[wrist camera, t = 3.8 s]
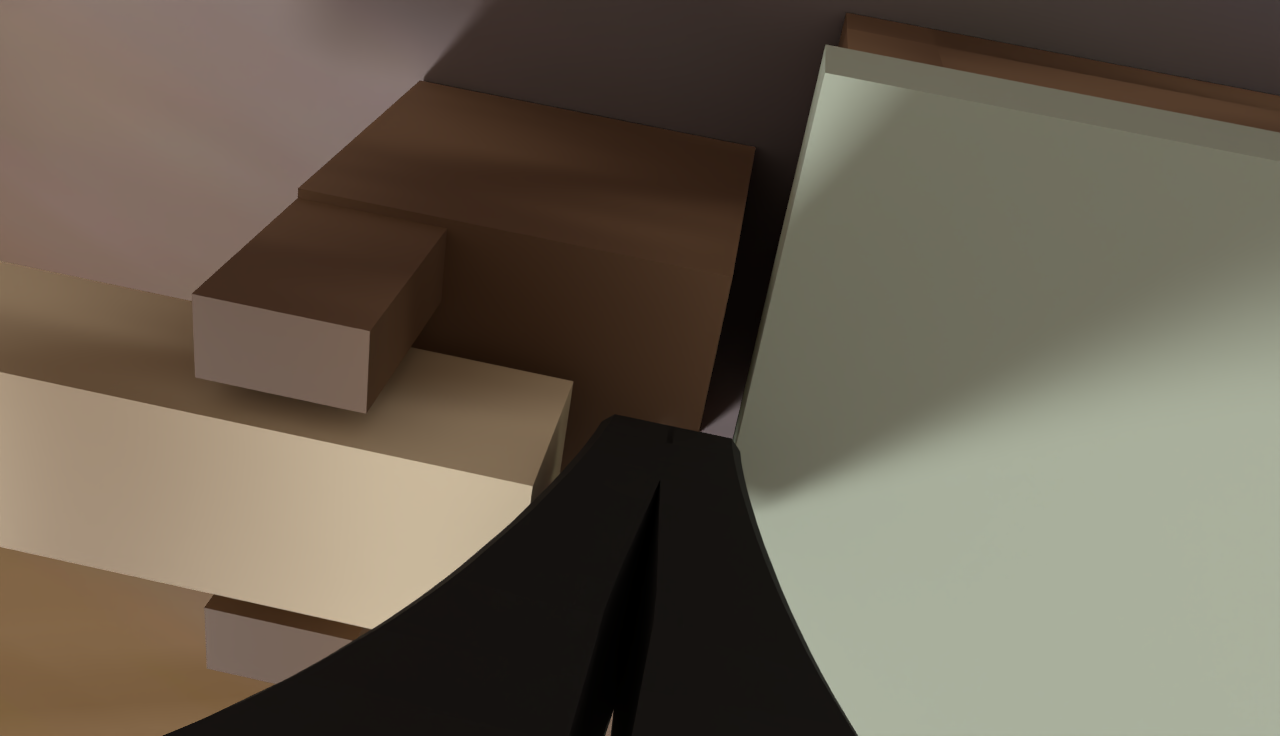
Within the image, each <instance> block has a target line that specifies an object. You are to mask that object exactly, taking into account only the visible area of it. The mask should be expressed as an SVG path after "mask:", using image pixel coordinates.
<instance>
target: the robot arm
mask: <svg viewBox="0 0 1280 736" xmlns="http://www.w3.org/2000/svg"><path fill="white" fill-rule="evenodd" d="M613 710H614V712H613ZM612 713H613V721H612V730H611V736H858V734H857V733H856V731H855V730H854V728H853V726H852V725H851V723H850V721H849V720H848V718H847V716H846V715H845V713H844V711H843V710H842V708H841V706H840V705H839V703H838V701H837V700H836V698H835V696H834V694H833V693H832V691H831V689H830V687H829V685H828V684H827V682H826V680H825V678H824V676H823V675H822V673H821V671H820V669H819V667H818V665H817V663H816V661H815V659H814V657H813V655H812V654H811V652H810V650H809V647H808V645H807V643H806V641H805V639H804V637H803V635H802V633H801V631H800V629H799V627H798V625H797V622H796V620H795V618H794V616H793V614H792V612H791V609H790V607H789V605H788V603H787V600H786V598H785V596H784V593H783V591H782V589H781V586H780V584H779V581H778V578H777V576H776V573H775V571H774V568H773V566H772V563H771V560H770V558H769V555H768V553H767V550H766V548H765V545H764V542H763V539H762V536H761V533H760V530H759V528H758V525H757V521H756V518H755V515H754V511H753V508H752V505H751V501H750V498H749V494H748V490H747V487H746V482H745V478H744V473H743V468H742V463H741V454H740V450H739V449H738V447H737V446H736V444H735V443H734V441H733V440H732V439H731V438H726V437H721V436H717V435H712V434H707V433H702V432H698V431H693V430H688V429H683V428H679V427H674V426H669V425H664V424H660V423H655V422H650V421H645V420H641V419H636V418H631V417H626V416H622V415H617V414H614V415H612V416H610V417H609V418H607V419H605V420H603V421H602V422H601V423H600V425H599V426H598V428H597V429H596V431H595V432H594V434H593V435H592V436H591V438H590V439H589V440H588V441H587V443H586V444H585V445H584V447H583V448H582V449H581V450H580V451H579V453H578V454H577V455H576V456H575V457H574V459H573V460H572V461H571V462H570V463H569V464H568V465H567V466H566V467H565V469H564V470H563V471H562V472H561V473H560V474H559V475H558V476H557V477H556V478H555V480H554V481H553V482H552V483H551V484H550V485H549V486H548V487H547V488H546V489H545V490H544V491H543V492H542V493H541V494H540V495H539V496H538V497H537V498H536V499H535V500H534V501H533V502H532V503H531V504H530V505H529V506H528V507H527V508H526V509H525V510H524V511H523V512H521V513H520V514H519V515H518V516H517V517H516V518H515V519H514V520H513V521H512V522H511V523H510V524H509V525H508V526H507V527H506V528H504V529H503V530H502V531H501V532H500V533H499V534H497V535H496V536H495V537H494V538H493V539H492V540H490V541H489V542H488V543H487V544H486V545H485V546H483V547H482V548H481V549H480V550H479V551H477V552H476V553H475V554H474V555H473V556H472V557H470V558H469V559H468V560H467V561H466V562H465V563H463V564H462V565H461V566H460V567H459V568H457V569H456V570H455V571H454V572H452V573H451V574H450V575H448V576H447V577H446V578H444V579H443V580H442V581H441V582H439V583H438V584H437V585H435V586H434V587H433V588H431V589H430V590H429V591H427V592H426V593H424V594H423V595H422V596H420V597H419V598H418V599H416V600H415V601H413V602H412V603H410V604H409V605H407V606H406V607H405V608H403V609H402V610H400V611H399V612H397V613H396V614H394V615H393V616H391V617H390V618H389V619H387V620H386V621H384V622H383V623H381V624H379V625H378V626H376V627H375V628H373V629H371V630H370V631H368V632H366V633H365V634H363V635H361V636H360V637H358V638H357V639H355V640H353V641H352V642H350V643H348V644H347V645H345V646H343V647H342V648H340V649H338V650H337V651H335V652H334V653H332V654H330V655H329V656H327V657H325V658H324V659H322V660H320V661H318V662H316V663H315V664H313V665H311V666H309V667H307V668H306V669H304V670H302V671H300V672H298V673H296V674H295V675H293V676H291V677H289V678H287V679H285V680H283V681H281V682H279V683H277V684H275V685H273V686H271V687H269V688H267V689H265V690H263V691H260V692H258V693H256V694H254V695H252V696H250V697H248V698H246V699H244V700H242V701H240V702H238V703H235V704H233V705H231V706H229V707H227V708H225V709H223V710H221V711H219V712H217V713H215V714H213V715H210V716H208V717H206V718H204V719H202V720H199V721H197V722H195V723H192V724H190V725H188V726H185V727H183V728H180V729H178V730H175V731H173V732H171V733H168V734H166V735H163V736H605V734H606V731H607V728H608V725H609V722H610V719H611V716H612Z"/></svg>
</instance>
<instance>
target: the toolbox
mask: <svg viewBox="0 0 1280 736" xmlns="http://www.w3.org/2000/svg"><path fill="white" fill-rule="evenodd" d="M838 47H841V48H847V49H852V50H857V51H862V52H867V53H872V54H877V55H883V56H888V57H893V58H898V59H903V60H908V61H913V62H919V63H924V64H929V65H934V66H939V67H944V68H950V69H955V70H960V71H965V72H970V73H975V74H980V75H986V76H991V77H996V78H1001V79H1006V80H1011V81H1017V82H1022V83H1027V84H1032V85H1037V86H1042V87H1047V88H1053V89H1058V90H1063V91H1068V92H1073V93H1078V94H1083V95H1089V96H1094V97H1099V98H1104V99H1109V100H1114V101H1120V102H1125V103H1130V104H1135V105H1140V106H1145V107H1150V108H1156V109H1161V110H1166V111H1171V112H1176V113H1181V114H1187V115H1192V116H1197V117H1202V118H1207V119H1212V120H1217V121H1223V122H1228V123H1233V124H1238V125H1243V126H1248V127H1253V128H1259V129H1264V130H1269V131H1274V132H1279V133H1280V96H1277V95H1272V94H1267V93H1262V92H1256V91H1251V90H1246V89H1241V88H1236V87H1230V86H1225V85H1220V84H1215V83H1210V82H1204V81H1199V80H1194V79H1189V78H1184V77H1179V76H1173V75H1168V74H1163V73H1158V72H1153V71H1147V70H1142V69H1137V68H1132V67H1127V66H1121V65H1116V64H1111V63H1106V62H1101V61H1095V60H1090V59H1085V58H1080V57H1075V56H1070V55H1064V54H1059V53H1054V52H1049V51H1044V50H1038V49H1033V48H1028V47H1023V46H1018V45H1012V44H1007V43H1002V42H997V41H992V40H986V39H981V38H976V37H971V36H966V35H961V34H955V33H950V32H945V31H940V30H935V29H929V28H924V27H919V26H914V25H909V24H903V23H898V22H893V21H888V20H883V19H877V18H872V17H867V16H862V15H857V14H852V13H846V16H845V20H844V24H843V28H842V32H841V36H840V41H839V45H838ZM755 148H756V147H752V146H747V145H742V144H737V143H732V142H727V141H722V140H716V139H711V138H706V137H701V136H696V135H691V134H686V133H681V132H676V131H671V130H666V129H661V128H656V127H651V126H646V125H641V124H636V123H631V122H626V121H621V120H616V119H611V118H606V117H601V116H596V115H591V114H586V113H581V112H576V111H571V110H566V109H561V108H556V107H551V106H545V105H540V104H535V103H530V102H525V101H520V100H515V99H510V98H505V97H500V96H495V95H490V94H485V93H480V92H475V91H470V90H465V89H460V88H455V87H450V86H445V85H440V84H435V83H430V82H425V81H419V82H418V83H417V84H416V85H415V86H413V87H412V88H411V89H410V90H409V91H408V92H407V93H405V94H404V95H403V96H402V97H401V98H400V99H399V100H398V101H396V102H395V103H394V104H393V105H392V106H391V107H390V108H389V109H387V110H386V111H385V112H384V113H383V114H382V115H381V116H379V117H378V118H377V119H376V120H375V121H374V122H373V123H372V124H370V125H369V126H368V127H367V128H366V129H365V130H364V131H363V132H361V133H360V134H359V135H358V136H357V137H356V138H355V139H353V140H352V141H351V142H350V143H349V144H348V145H347V146H346V147H344V148H343V149H342V150H341V151H340V152H339V153H338V154H337V155H335V156H334V157H333V158H332V159H331V160H330V161H329V162H327V163H326V164H325V165H324V166H323V167H322V168H321V169H320V170H318V171H317V172H316V173H315V174H314V175H313V176H312V177H310V178H309V179H308V180H307V181H306V182H305V183H304V184H303V185H301V186H300V187H299V188H298V198H297V199H296V200H295V201H294V202H293V203H292V204H291V205H290V206H289V207H287V208H286V209H285V210H284V211H283V212H282V213H281V214H280V215H279V216H277V217H276V218H275V219H274V220H273V221H272V222H271V223H270V224H269V225H268V226H266V227H265V228H264V229H263V230H262V231H261V232H260V233H259V234H258V235H256V236H255V237H254V238H253V239H252V240H251V241H250V242H249V243H248V244H246V245H245V246H244V247H243V248H242V249H241V250H240V251H239V252H238V253H236V254H235V255H234V256H233V257H232V258H231V259H230V260H229V261H228V262H227V263H225V264H224V265H223V266H222V267H221V268H220V269H219V270H218V271H217V272H215V273H214V274H213V275H212V276H211V277H210V278H209V279H208V280H207V281H205V282H204V283H203V284H202V285H201V286H200V287H199V288H198V289H197V290H195V291H194V292H193V293H192V314H193V338H194V363H195V377H196V378H200V379H205V380H210V381H215V382H219V383H224V384H229V385H233V386H238V387H243V388H247V389H252V390H257V391H261V392H266V393H271V394H276V395H280V396H285V397H290V398H294V399H299V400H304V401H308V402H313V403H318V404H323V405H327V406H332V407H337V408H341V409H346V410H351V411H355V412H360V413H365V414H366V413H367V412H368V410H369V409H370V407H371V406H372V404H373V403H374V401H375V400H376V398H377V397H378V395H379V394H380V392H381V391H382V389H383V388H384V386H385V385H386V383H387V382H388V380H389V379H390V377H391V376H392V374H393V373H394V371H395V370H396V368H397V367H398V365H399V364H400V362H401V361H402V359H403V358H404V356H405V355H406V353H407V352H408V350H409V349H410V347H412V348H417V349H422V350H426V351H431V352H436V353H441V354H445V355H450V356H455V357H460V358H465V359H469V360H474V361H479V362H484V363H488V364H493V365H498V366H503V367H507V368H512V369H517V370H522V371H526V372H531V373H536V374H541V375H546V376H550V377H555V378H560V379H565V380H569V381H573V388H572V395H571V402H570V408H569V415H568V422H567V428H566V435H565V442H564V449H563V455H562V462H561V469H560V473H561V472H562V471H563V470H564V469H565V467H566V466H567V465H568V464H569V463H570V462H571V461H572V460H573V459H574V457H575V456H576V455H577V454H578V453H579V451H580V450H581V449H582V448H583V447H584V445H585V444H586V443H587V441H588V440H589V439H590V438H591V436H592V435H593V434H594V432H595V431H596V429H597V428H598V426H599V425H600V423H601V422H602V421H603V420H605V419H607V418H609V417H610V416H612V415H614V414H617V415H622V416H626V417H631V418H636V419H641V420H645V421H650V422H655V423H660V424H664V425H669V426H674V427H679V428H683V429H688V430H693V431H698V432H699V430H700V425H701V420H702V416H703V411H704V406H705V402H706V397H707V393H708V388H709V383H710V379H711V374H712V370H713V365H714V360H715V356H716V351H717V347H718V342H719V337H720V333H721V328H722V324H723V319H724V314H725V310H726V305H727V301H728V296H729V291H730V287H731V282H732V277H733V272H734V266H735V261H736V255H737V249H738V244H739V238H740V233H741V227H742V221H743V216H744V210H745V204H746V199H747V193H748V187H749V182H750V176H751V171H752V165H753V159H754V154H755ZM370 630H371V629H369V628H364V627H360V626H355V625H351V624H346V623H342V622H337V621H333V620H328V619H324V618H319V617H315V616H310V615H306V614H301V613H297V612H292V611H288V610H283V609H279V608H274V607H270V606H265V605H261V604H256V603H252V602H247V601H243V600H238V599H234V598H229V597H225V596H220V595H216V594H214V595H213V596H212V598H211V599H210V601H209V602H208V603H207V605H206V606H205V632H206V657H207V668H208V669H212V670H217V671H221V672H225V673H230V674H234V675H239V676H243V677H248V678H252V679H257V680H261V681H265V682H270V683H274V684H277V683H279V682H281V681H283V680H285V679H287V678H289V677H291V676H293V675H295V674H296V673H298V672H300V671H302V670H304V669H306V668H307V667H309V666H311V665H313V664H315V663H316V662H318V661H320V660H322V659H324V658H325V657H327V656H329V655H330V654H332V653H334V652H335V651H337V650H338V649H340V648H342V647H343V646H345V645H347V644H348V643H350V642H352V641H353V640H355V639H357V638H358V637H360V636H361V635H363V634H365V633H366V632H368V631H370Z"/></svg>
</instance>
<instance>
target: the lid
mask: <svg viewBox="0 0 1280 736" xmlns="http://www.w3.org/2000/svg"><path fill="white" fill-rule="evenodd" d="M733 441H734V443H735V444H736V446H737V447H738V449H739V450H740V454H741V463H742V468H743V473H744V478H745V482H746V487H747V490H748V494H749V498H750V501H751V505H752V508H753V511H754V515H755V518H756V521H757V525H758V528H759V530H760V533H761V536H762V539H763V542H764V545H765V548H766V550H767V553H768V555H769V558H770V560H771V563H772V566H773V568H774V571H775V573H776V576H777V578H778V581H779V584H780V586H781V589H782V591H783V593H784V596H785V598H786V600H787V603H788V605H789V607H790V609H791V612H792V614H793V616H794V618H795V620H796V622H797V625H798V627H799V629H800V631H801V633H802V635H803V637H804V639H805V641H806V643H807V645H808V647H809V650H810V652H811V654H812V655H813V657H814V659H815V661H816V663H817V665H818V667H819V669H820V671H821V673H822V675H823V676H824V678H825V680H826V682H827V684H828V685H829V687H830V689H831V691H832V693H833V694H834V696H835V698H836V700H837V701H838V703H839V705H840V706H841V708H842V710H843V711H844V713H845V715H846V716H847V718H848V720H849V721H850V723H851V725H852V726H853V728H854V730H855V731H856V733H857V734H858V736H1280V133H1279V132H1274V131H1269V130H1264V129H1259V128H1253V127H1248V126H1243V125H1238V124H1233V123H1228V122H1223V121H1217V120H1212V119H1207V118H1202V117H1197V116H1192V115H1187V114H1181V113H1176V112H1171V111H1166V110H1161V109H1156V108H1150V107H1145V106H1140V105H1135V104H1130V103H1125V102H1120V101H1114V100H1109V99H1104V98H1099V97H1094V96H1089V95H1083V94H1078V93H1073V92H1068V91H1063V90H1058V89H1053V88H1047V87H1042V86H1037V85H1032V84H1027V83H1022V82H1017V81H1011V80H1006V79H1001V78H996V77H991V76H986V75H980V74H975V73H970V72H965V71H960V70H955V69H950V68H944V67H939V66H934V65H929V64H924V63H919V62H913V61H908V60H903V59H898V58H893V57H888V56H883V55H877V54H872V53H867V52H862V51H857V50H852V49H847V48H841V47H836V46H831V45H825V49H824V53H823V58H822V62H821V66H820V70H819V75H818V79H817V83H816V87H815V92H814V96H813V100H812V104H811V109H810V113H809V117H808V121H807V126H806V130H805V134H804V138H803V143H802V147H801V151H800V155H799V160H798V164H797V168H796V172H795V177H794V181H793V185H792V189H791V194H790V198H789V202H788V206H787V211H786V215H785V219H784V223H783V228H782V232H781V236H780V240H779V245H778V249H777V253H776V257H775V262H774V266H773V270H772V274H771V279H770V283H769V287H768V291H767V296H766V300H765V304H764V308H763V313H762V317H761V321H760V325H759V330H758V334H757V338H756V342H755V347H754V351H753V355H752V359H751V364H750V368H749V372H748V376H747V381H746V385H745V389H744V393H743V398H742V402H741V406H740V410H739V415H738V419H737V423H736V427H735V432H734V436H733Z"/></svg>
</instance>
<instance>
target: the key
mask: <svg viewBox="0 0 1280 736" xmlns="http://www.w3.org/2000/svg"><path fill="white" fill-rule="evenodd" d="M572 388H573V381H569V380H565V379H560V378H555V377H550V376H546V375H541V374H536V373H531V372H526V371H522V370H517V369H512V368H507V367H503V366H498V365H493V364H488V363H484V362H479V361H474V360H469V359H465V358H460V357H455V356H450V355H445V354H441V353H436V352H431V351H426V350H422V349H417V348H412V347H410V349H409V350H408V352H407V353H406V355H405V356H404V358H403V359H402V361H401V362H400V364H399V365H398V367H397V368H396V370H395V371H394V373H393V374H392V376H391V377H390V379H389V380H388V382H387V383H386V385H385V386H384V388H383V389H382V391H381V392H380V394H379V395H378V397H377V398H376V400H375V401H374V403H373V404H372V406H371V407H370V409H369V410H368V412H367V413H366V414H365V413H360V412H355V411H351V410H346V409H341V408H337V407H332V406H327V405H323V404H318V403H313V402H308V401H304V400H299V399H294V398H290V397H285V396H280V395H276V394H271V393H266V392H261V391H257V390H252V389H247V388H243V387H238V386H233V385H229V384H224V383H219V382H215V381H210V380H205V379H200V378H196V377H195V363H194V338H193V314H192V301H188V300H183V299H179V298H174V297H169V296H164V295H160V294H155V293H150V292H145V291H141V290H136V289H131V288H126V287H121V286H117V285H112V284H107V283H102V282H98V281H93V280H88V279H83V278H79V277H74V276H69V275H64V274H60V273H55V272H50V271H45V270H40V269H36V268H31V267H26V266H21V265H17V264H12V263H7V262H2V261H0V547H4V548H8V549H13V550H17V551H22V552H26V553H31V554H35V555H40V556H44V557H49V558H53V559H58V560H62V561H67V562H71V563H76V564H80V565H85V566H89V567H94V568H98V569H103V570H107V571H112V572H116V573H121V574H125V575H130V576H134V577H139V578H143V579H148V580H152V581H157V582H161V583H166V584H170V585H175V586H179V587H184V588H188V589H193V590H197V591H202V592H207V593H211V594H216V595H220V596H225V597H229V598H234V599H238V600H243V601H247V602H252V603H256V604H261V605H265V606H270V607H274V608H279V609H283V610H288V611H292V612H297V613H301V614H306V615H310V616H315V617H319V618H324V619H328V620H333V621H337V622H342V623H346V624H351V625H355V626H360V627H364V628H369V629H373V628H375V627H376V626H378V625H379V624H381V623H383V622H384V621H386V620H387V619H389V618H390V617H391V616H393V615H394V614H396V613H397V612H399V611H400V610H402V609H403V608H405V607H406V606H407V605H409V604H410V603H412V602H413V601H415V600H416V599H418V598H419V597H420V596H422V595H423V594H424V593H426V592H427V591H429V590H430V589H431V588H433V587H434V586H435V585H437V584H438V583H439V582H441V581H442V580H443V579H444V578H446V577H447V576H448V575H450V574H451V573H452V572H454V571H455V570H456V569H457V568H459V567H460V566H461V565H462V564H463V563H465V562H466V561H467V560H468V559H469V558H470V557H472V556H473V555H474V554H475V553H476V552H477V551H479V550H480V549H481V548H482V547H483V546H485V545H486V544H487V543H488V542H489V541H490V540H492V539H493V538H494V537H495V536H496V535H497V534H499V533H500V532H501V531H502V530H503V529H504V528H506V527H507V526H508V525H509V524H510V523H511V522H512V521H513V520H514V519H515V518H516V517H517V516H518V515H519V514H520V513H521V512H523V511H524V510H525V509H526V508H527V507H528V506H529V505H530V504H531V503H532V502H533V501H534V500H535V499H536V498H537V497H538V496H539V495H540V494H541V493H542V492H543V491H544V490H545V489H546V488H547V487H548V486H549V485H550V484H551V483H552V482H553V481H554V480H555V478H556V477H557V476H558V475H559V474H560V469H561V462H562V455H563V449H564V442H565V435H566V428H567V422H568V415H569V408H570V402H571V395H572Z"/></svg>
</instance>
